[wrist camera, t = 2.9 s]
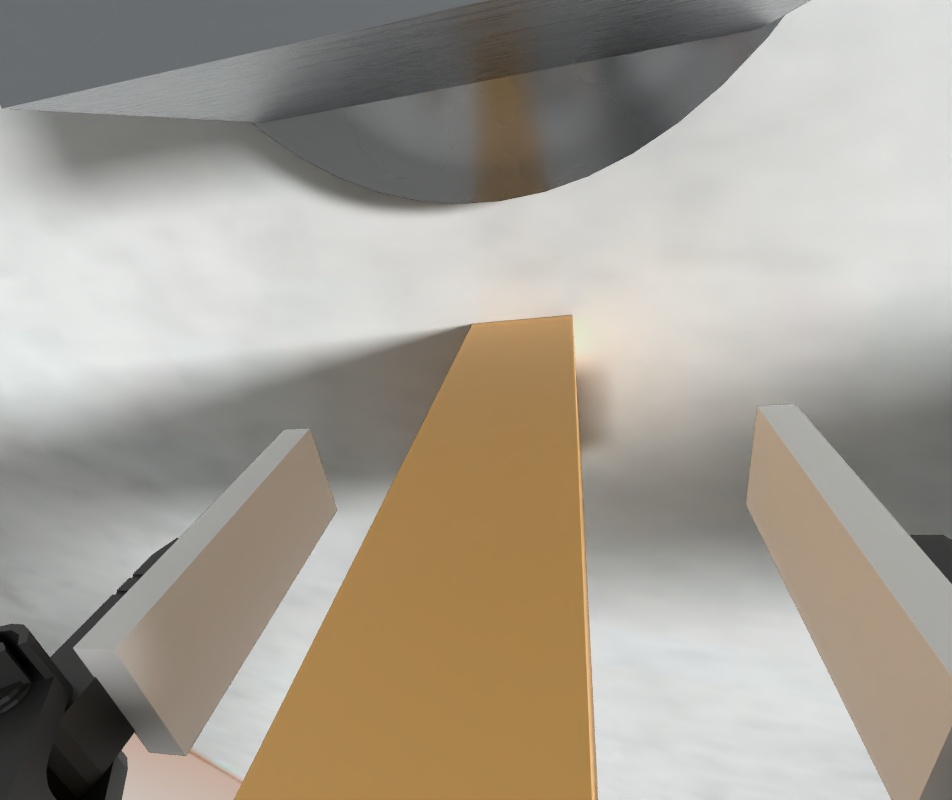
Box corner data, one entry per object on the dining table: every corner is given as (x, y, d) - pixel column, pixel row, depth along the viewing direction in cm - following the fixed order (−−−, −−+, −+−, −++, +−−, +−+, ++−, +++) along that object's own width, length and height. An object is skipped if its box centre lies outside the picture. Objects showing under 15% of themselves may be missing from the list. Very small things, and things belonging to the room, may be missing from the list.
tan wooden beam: (581, 457, 17) (623, 1303, 5) (493, 460, 18) (324, 1213, 5) (572, 314, 15) (609, 1195, 2) (472, 323, 15) (99, 1065, 3)
